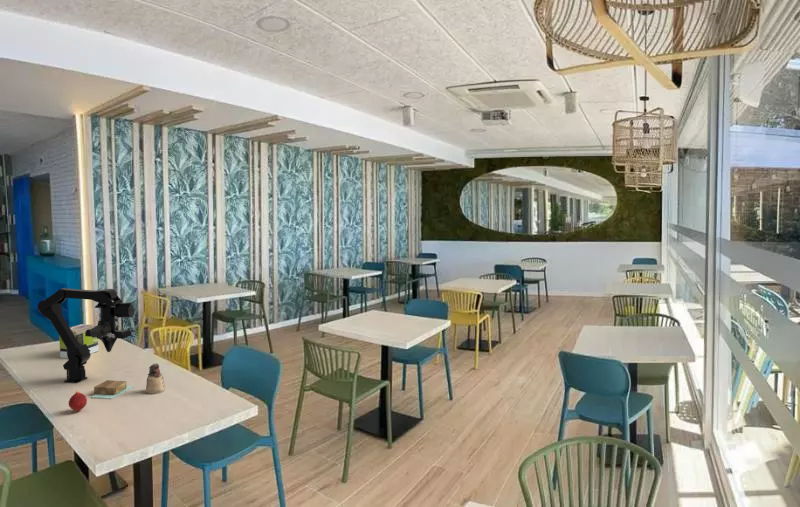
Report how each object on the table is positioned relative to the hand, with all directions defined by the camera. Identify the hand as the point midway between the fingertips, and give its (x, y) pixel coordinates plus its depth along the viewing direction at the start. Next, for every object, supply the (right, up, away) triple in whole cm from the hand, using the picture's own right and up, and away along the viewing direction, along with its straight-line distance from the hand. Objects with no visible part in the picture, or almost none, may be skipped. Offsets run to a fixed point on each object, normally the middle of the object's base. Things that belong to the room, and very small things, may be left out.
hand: (108, 351), depth 219 cm
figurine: (+26, -15, -11) cm, 32 cm away
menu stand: (+4, -12, -13) cm, 18 cm away
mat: (+10, -14, -13) cm, 22 cm away
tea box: (-38, -10, +38) cm, 55 cm away
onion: (+8, -16, -33) cm, 38 cm away
